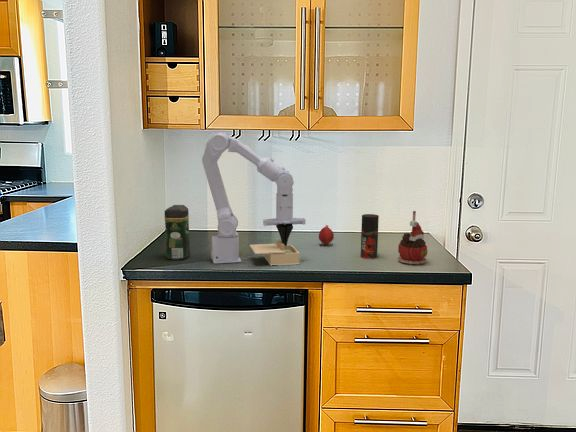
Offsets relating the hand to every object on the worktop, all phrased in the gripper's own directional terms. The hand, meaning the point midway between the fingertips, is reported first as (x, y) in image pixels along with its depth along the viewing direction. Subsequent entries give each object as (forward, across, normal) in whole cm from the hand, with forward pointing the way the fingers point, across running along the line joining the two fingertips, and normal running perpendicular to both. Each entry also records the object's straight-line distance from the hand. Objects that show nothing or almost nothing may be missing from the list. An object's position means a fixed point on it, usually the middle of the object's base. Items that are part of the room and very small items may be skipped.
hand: (284, 245), depth 192 cm
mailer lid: (+1, -6, 0) cm, 6 cm away
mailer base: (+5, -1, 0) cm, 5 cm away
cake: (+6, +43, -11) cm, 45 cm away
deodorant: (+6, +31, -1) cm, 32 cm away
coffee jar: (+6, -36, +12) cm, 38 cm away
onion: (+6, +21, +19) cm, 29 cm away
